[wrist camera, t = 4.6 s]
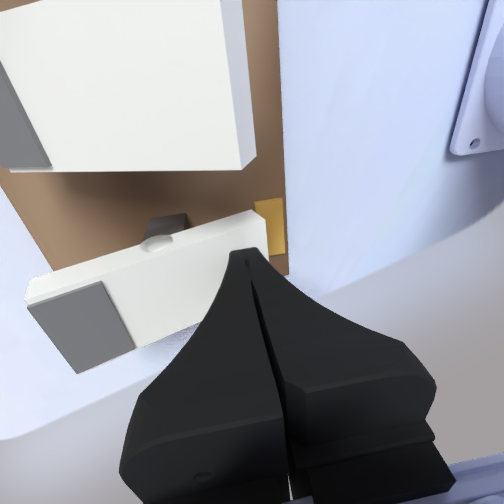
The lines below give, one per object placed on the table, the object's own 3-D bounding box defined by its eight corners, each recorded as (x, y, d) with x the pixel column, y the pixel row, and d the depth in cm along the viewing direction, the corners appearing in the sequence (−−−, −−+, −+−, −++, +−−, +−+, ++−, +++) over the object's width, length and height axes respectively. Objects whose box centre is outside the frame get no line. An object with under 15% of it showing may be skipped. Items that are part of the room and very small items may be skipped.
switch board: (267, -59, 9) (290, -109, 7) (284, 264, 16) (299, 298, 14) (-102, -21, 9) (-230, -62, 6) (85, 298, 16) (62, 341, 13)
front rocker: (243, -28, 6) (209, -52, 4) (259, 152, 8) (239, 171, 6) (-10, 35, 8) (-79, 31, 7) (51, 159, 10) (6, 174, 9)
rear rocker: (247, 207, 12) (267, 221, 11) (256, 274, 14) (273, 292, 13) (32, 274, 9) (23, 303, 8) (80, 344, 11) (79, 377, 10)
